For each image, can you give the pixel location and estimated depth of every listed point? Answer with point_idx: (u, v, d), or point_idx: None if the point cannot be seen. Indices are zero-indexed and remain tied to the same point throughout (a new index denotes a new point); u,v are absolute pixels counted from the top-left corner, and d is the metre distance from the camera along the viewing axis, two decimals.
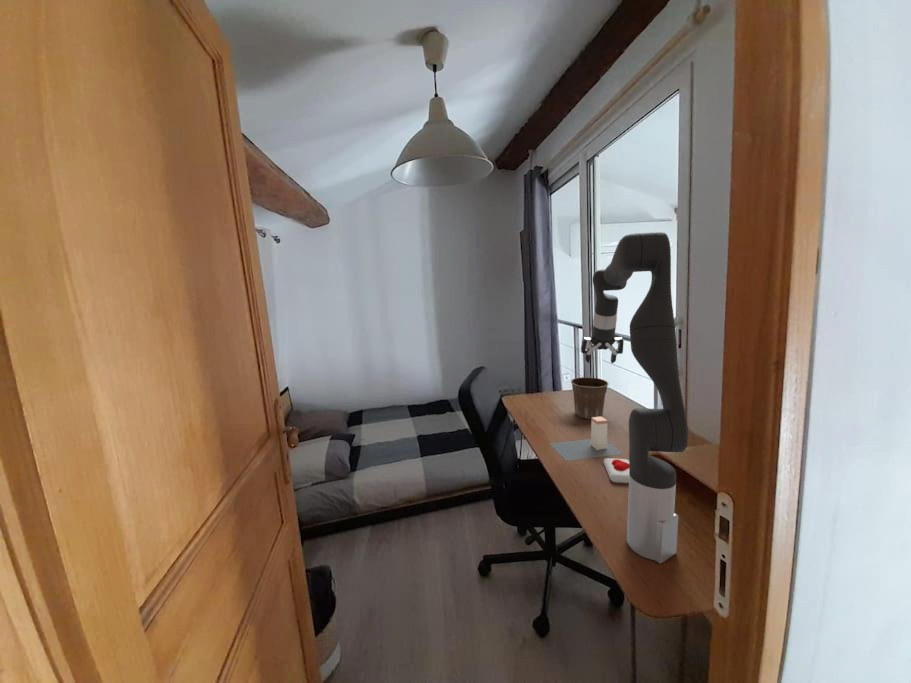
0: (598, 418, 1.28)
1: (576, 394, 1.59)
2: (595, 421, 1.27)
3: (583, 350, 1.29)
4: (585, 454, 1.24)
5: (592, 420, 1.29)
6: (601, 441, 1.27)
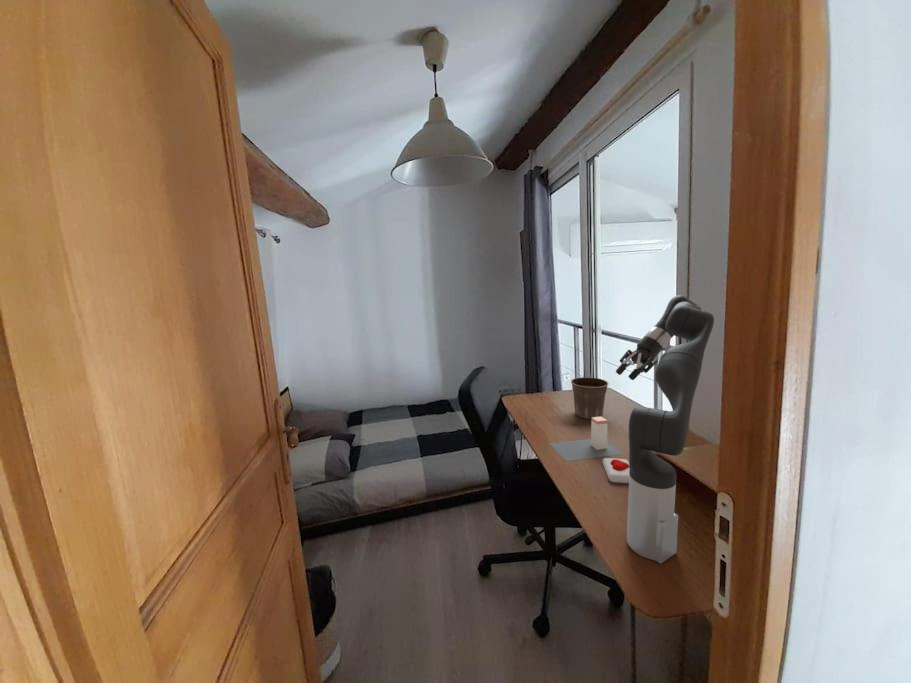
0: (598, 418, 1.28)
1: (576, 394, 1.59)
2: (595, 421, 1.27)
3: (622, 358, 1.33)
4: (585, 454, 1.24)
5: (592, 420, 1.29)
6: (601, 441, 1.27)
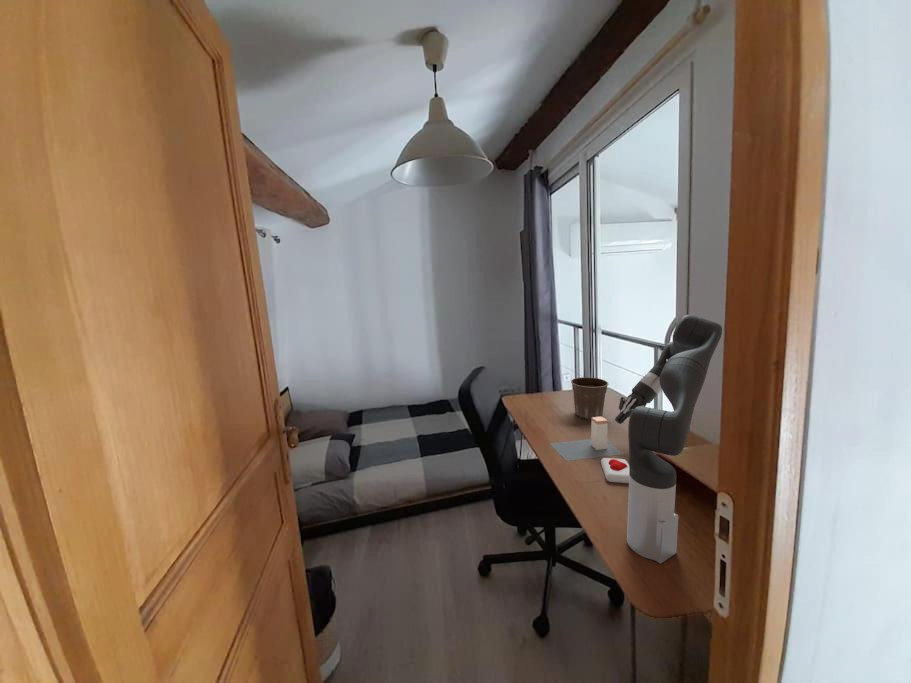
0: (598, 418, 1.28)
1: (576, 394, 1.59)
2: (595, 421, 1.27)
3: (621, 406, 1.31)
4: (585, 454, 1.24)
5: (592, 420, 1.29)
6: (601, 441, 1.27)
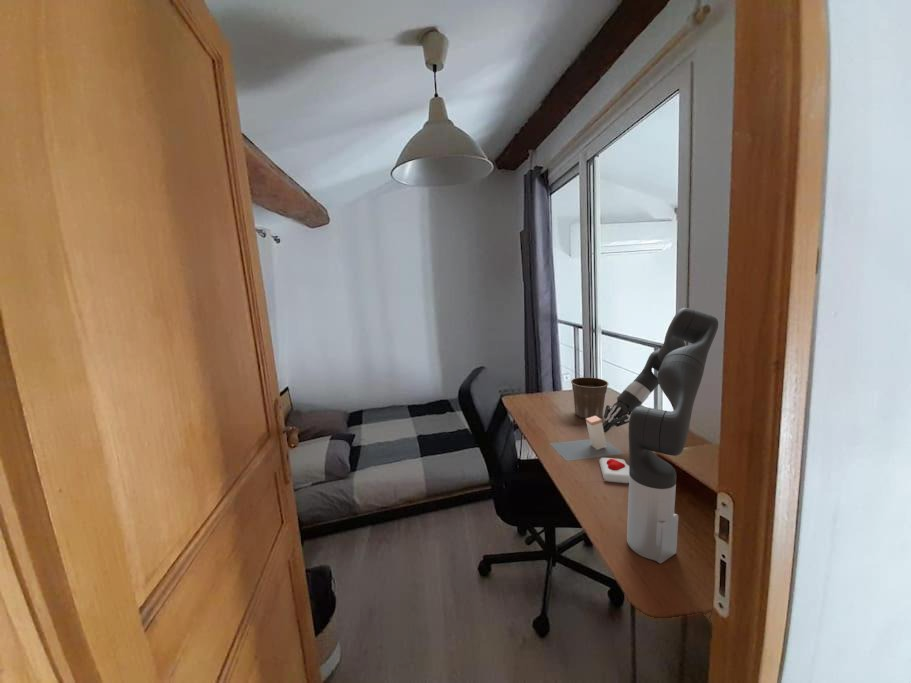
0: (592, 419, 1.27)
1: (576, 394, 1.59)
2: (589, 422, 1.26)
3: (606, 414, 1.31)
4: (585, 454, 1.24)
5: (587, 421, 1.28)
6: (600, 441, 1.27)
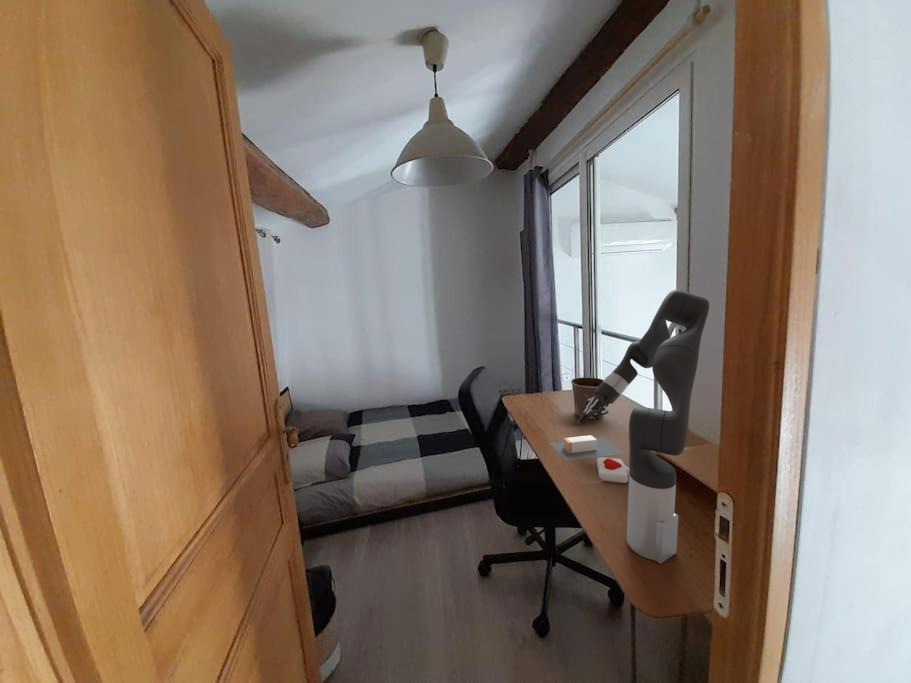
0: (565, 446, 1.27)
1: (576, 394, 1.59)
2: None
3: (584, 406, 1.29)
4: (585, 454, 1.24)
5: None
6: (589, 446, 1.26)
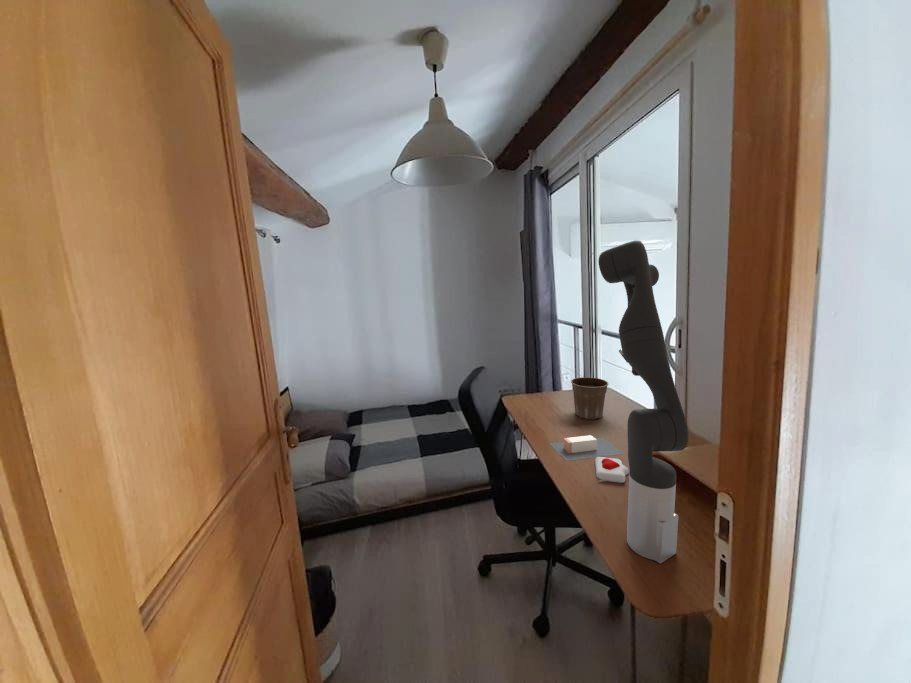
0: (565, 446, 1.27)
1: (576, 394, 1.59)
2: None
3: None
4: (585, 454, 1.24)
5: None
6: (589, 446, 1.26)
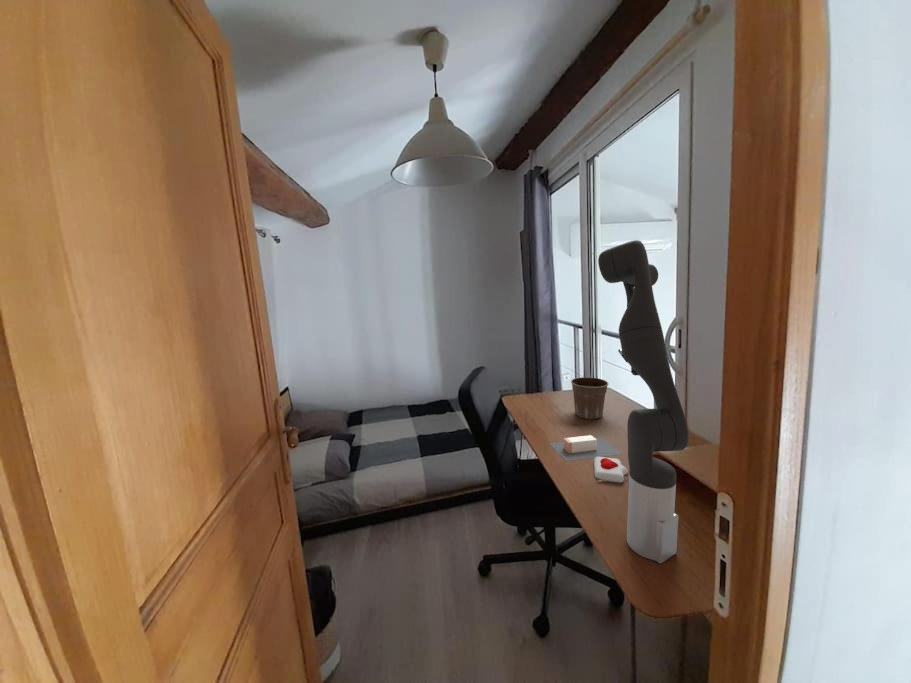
0: (565, 446, 1.27)
1: (576, 394, 1.59)
2: None
3: None
4: (585, 454, 1.24)
5: None
6: (589, 446, 1.26)
